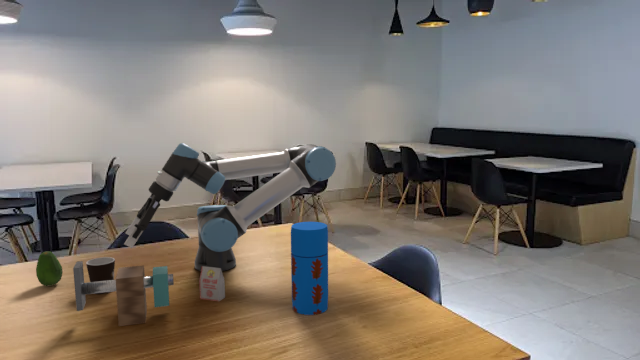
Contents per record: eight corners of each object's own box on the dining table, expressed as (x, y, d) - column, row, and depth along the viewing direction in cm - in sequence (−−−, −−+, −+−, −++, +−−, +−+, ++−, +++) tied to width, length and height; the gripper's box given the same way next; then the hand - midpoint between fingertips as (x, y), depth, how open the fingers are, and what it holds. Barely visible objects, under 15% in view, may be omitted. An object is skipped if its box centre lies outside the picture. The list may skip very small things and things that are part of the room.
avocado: (32, 287, 170) (29, 252, 168) (54, 280, 176) (51, 246, 175) (47, 291, 166) (44, 256, 164) (69, 284, 173) (66, 249, 171)
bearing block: (146, 309, 151) (144, 265, 149) (145, 322, 141) (142, 276, 139) (121, 312, 149) (118, 267, 147) (118, 326, 139) (115, 278, 137)
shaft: (174, 292, 151) (172, 253, 149) (174, 299, 145) (172, 259, 143) (80, 302, 143) (76, 261, 141) (76, 310, 138) (73, 268, 136)
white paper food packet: (206, 294, 162) (205, 264, 161) (225, 297, 160) (223, 266, 158) (200, 298, 159) (198, 268, 157) (218, 301, 157) (217, 270, 155)
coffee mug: (106, 296, 161) (104, 265, 160) (82, 294, 163) (80, 264, 162) (127, 283, 173) (125, 255, 171) (104, 282, 174) (102, 253, 173)
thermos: (301, 318, 144) (300, 232, 140) (286, 304, 153) (284, 224, 150) (334, 310, 149) (334, 227, 145) (318, 298, 158) (317, 220, 155)
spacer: (169, 296, 151) (167, 266, 149) (169, 305, 144) (167, 273, 143) (154, 298, 150) (153, 267, 148) (154, 307, 143) (152, 275, 142)
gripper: (153, 174, 178) (119, 225, 177) (155, 186, 155) (116, 245, 154) (172, 185, 181) (138, 235, 180) (176, 199, 158) (138, 256, 157)
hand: (128, 240), depth 167 cm, fingers open, 13 cm apart
